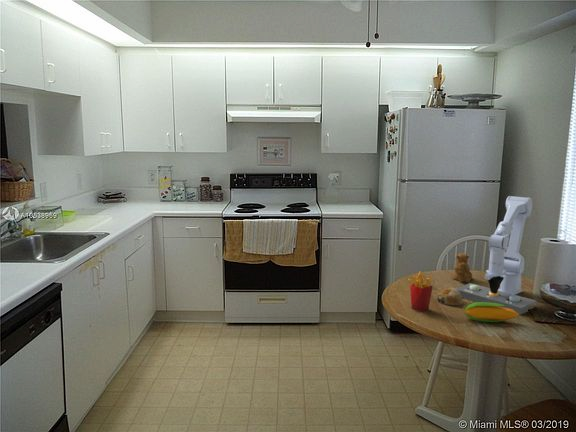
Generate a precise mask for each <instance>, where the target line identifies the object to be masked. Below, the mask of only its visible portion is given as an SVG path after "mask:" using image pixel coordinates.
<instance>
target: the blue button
mask: <svg viewBox="0 0 576 432" xmlns="http://www.w3.org/2000/svg"><path fill="white" fill-rule="evenodd" d="M516 295H517V294H515V295H510V296H509V301H512V302H516V303H518V302H520V297H519V296H520V295H517V296H516Z"/></svg>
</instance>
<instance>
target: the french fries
mask: <svg viewBox="0 0 576 432" xmlns="http://www.w3.org/2000/svg"><path fill="white" fill-rule="evenodd" d="M412 276H413V278H414V279H412V278H408V279H407V281H408V282H410V283H411V284H410V287H409V288H410V302H411V304H410V305H411V306H410V307H411V309H413V310H415V309H416V310H415V311H418V312H425V311H426V310H429V309H430V303H431V299H432V293H433V287H434V286H432V285H431V284H430V283H431V282H433V281H434V278H433V277H432V278H429V277H426V282H425V278H424V275H423V272H422V271H418V273H415V274H413V275H412Z"/></svg>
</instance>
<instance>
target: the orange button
mask: <svg viewBox="0 0 576 432" xmlns="http://www.w3.org/2000/svg"><path fill="white" fill-rule="evenodd" d="M489 295H491V296H494V297H497V296H499V293H498V292H497V293H496V294H495V293H491V291H490V292H489Z"/></svg>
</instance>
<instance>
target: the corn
mask: <svg viewBox="0 0 576 432" xmlns="http://www.w3.org/2000/svg"><path fill="white" fill-rule="evenodd" d="M499 306H505V305H502V304H497V303H488V302H474V301H473V302H471V303H469V304H466V307H465V308H464V314H465V315H466V317H467V318H469V319H471V320H472V321H477V322H482V323H483V322H486V323H488V322H489V323H502V322H503V321H508V320H511V319H515V318H517V317H519V316H520V315H519V314H518V313H517V312H515V311H514V310H513V309H508V308H504V307H499Z"/></svg>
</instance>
